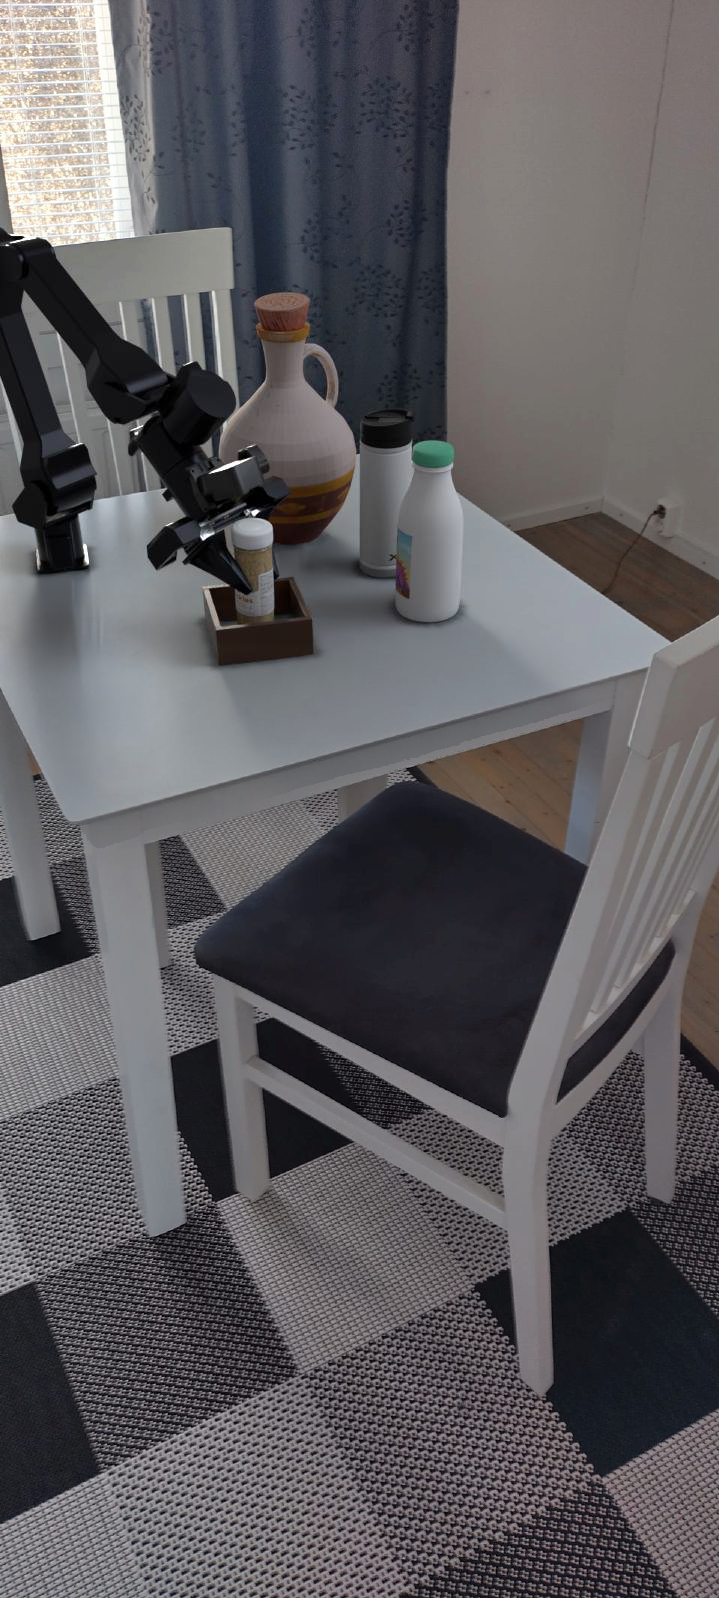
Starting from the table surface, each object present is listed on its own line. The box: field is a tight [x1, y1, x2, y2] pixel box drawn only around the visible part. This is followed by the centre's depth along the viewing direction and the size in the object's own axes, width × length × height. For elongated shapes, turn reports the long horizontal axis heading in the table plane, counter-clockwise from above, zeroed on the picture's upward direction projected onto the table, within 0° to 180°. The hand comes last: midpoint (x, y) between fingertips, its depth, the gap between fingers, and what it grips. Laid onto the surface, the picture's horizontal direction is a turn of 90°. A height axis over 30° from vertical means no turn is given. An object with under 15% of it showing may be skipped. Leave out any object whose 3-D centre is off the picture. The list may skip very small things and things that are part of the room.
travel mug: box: [359, 408, 417, 579], centre depth 145 cm, size 6×7×20 cm
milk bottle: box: [394, 440, 464, 623], centre depth 136 cm, size 8×8×20 cm
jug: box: [218, 291, 357, 546], centre depth 151 cm, size 20×18×30 cm
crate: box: [201, 576, 314, 667], centre depth 135 cm, size 11×11×4 cm
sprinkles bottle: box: [230, 518, 275, 625], centre depth 132 cm, size 5×5×13 cm
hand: (263, 585), depth 131 cm, fingers closed on sprinkles bottle, 4 cm apart
